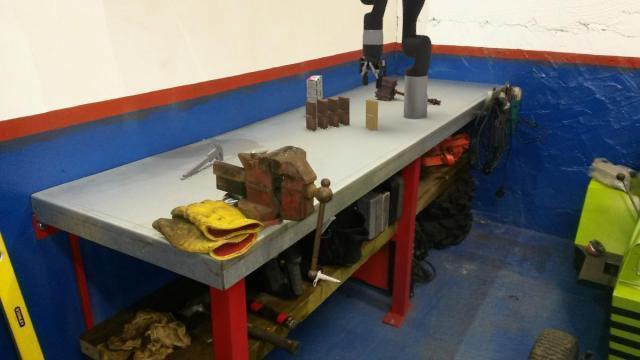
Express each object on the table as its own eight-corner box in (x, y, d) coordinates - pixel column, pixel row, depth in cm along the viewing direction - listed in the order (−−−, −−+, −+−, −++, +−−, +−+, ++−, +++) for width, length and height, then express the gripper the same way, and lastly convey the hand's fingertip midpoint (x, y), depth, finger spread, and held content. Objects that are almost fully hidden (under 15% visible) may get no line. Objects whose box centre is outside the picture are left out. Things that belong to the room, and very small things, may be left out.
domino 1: (310, 127, 200) (309, 100, 196) (317, 130, 196) (316, 102, 192) (306, 128, 199) (305, 100, 195) (312, 131, 195) (312, 103, 191)
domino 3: (331, 124, 205) (331, 97, 201) (338, 127, 200) (338, 99, 197) (327, 124, 204) (327, 97, 200) (334, 127, 200) (334, 99, 196)
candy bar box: (312, 112, 226) (311, 75, 220) (323, 112, 225) (322, 75, 219) (306, 118, 215) (305, 79, 210) (318, 118, 214) (317, 79, 209)
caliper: (221, 160, 164) (219, 141, 162) (223, 160, 164) (222, 141, 162) (180, 180, 147) (177, 160, 145) (183, 181, 147) (180, 160, 145)
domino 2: (321, 126, 202) (320, 98, 199) (328, 128, 198) (327, 100, 194) (317, 126, 202) (316, 99, 198) (324, 129, 197) (323, 101, 193)
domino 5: (369, 127, 199) (369, 99, 195) (377, 130, 195) (378, 101, 191) (365, 127, 198) (365, 99, 194) (373, 130, 194) (374, 102, 190)
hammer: (380, 94, 254) (383, 75, 250) (440, 114, 239) (445, 93, 235) (373, 97, 249) (377, 77, 244) (434, 117, 234) (439, 96, 229)
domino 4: (342, 122, 207) (342, 95, 203) (349, 125, 203) (349, 97, 199) (338, 123, 206) (338, 96, 202) (345, 125, 202) (345, 98, 198)
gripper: (353, 41, 189) (353, 85, 195) (376, 44, 178) (374, 90, 183) (369, 40, 193) (369, 83, 198) (393, 43, 181) (391, 88, 187)
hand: (371, 87), depth 191 cm, fingers open, 8 cm apart
